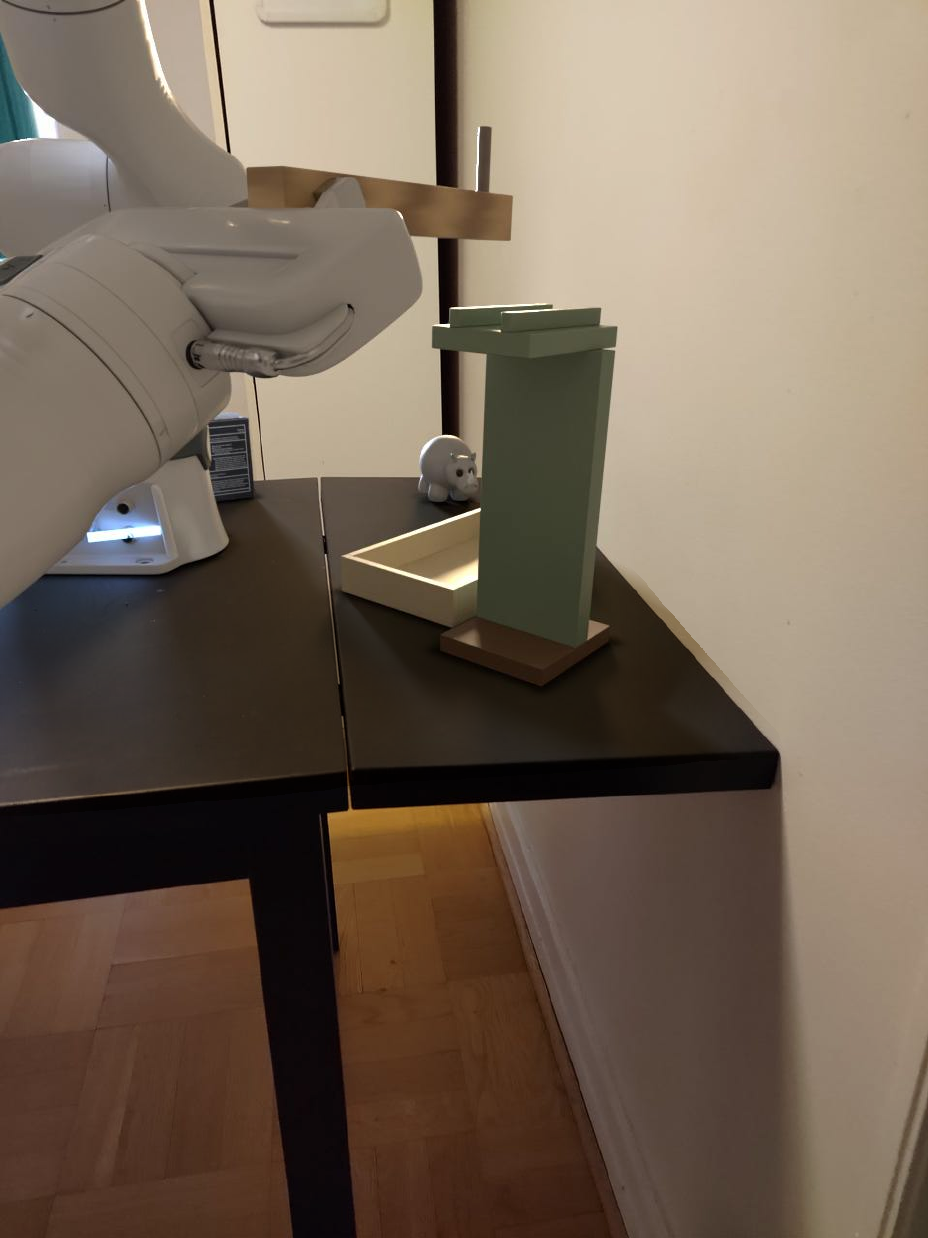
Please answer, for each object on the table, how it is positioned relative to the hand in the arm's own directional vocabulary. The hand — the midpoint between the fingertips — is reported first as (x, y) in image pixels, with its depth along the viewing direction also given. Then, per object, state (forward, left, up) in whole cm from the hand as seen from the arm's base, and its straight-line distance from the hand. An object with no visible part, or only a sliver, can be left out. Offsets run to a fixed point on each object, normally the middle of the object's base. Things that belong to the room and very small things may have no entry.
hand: (322, 192), depth 43 cm
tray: (+17, +31, -33) cm, 49 cm away
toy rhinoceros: (+22, +58, -33) cm, 71 cm away
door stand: (+16, +13, -33) cm, 39 cm away
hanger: (+4, +4, -2) cm, 6 cm away
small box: (-9, +66, -33) cm, 75 cm away
